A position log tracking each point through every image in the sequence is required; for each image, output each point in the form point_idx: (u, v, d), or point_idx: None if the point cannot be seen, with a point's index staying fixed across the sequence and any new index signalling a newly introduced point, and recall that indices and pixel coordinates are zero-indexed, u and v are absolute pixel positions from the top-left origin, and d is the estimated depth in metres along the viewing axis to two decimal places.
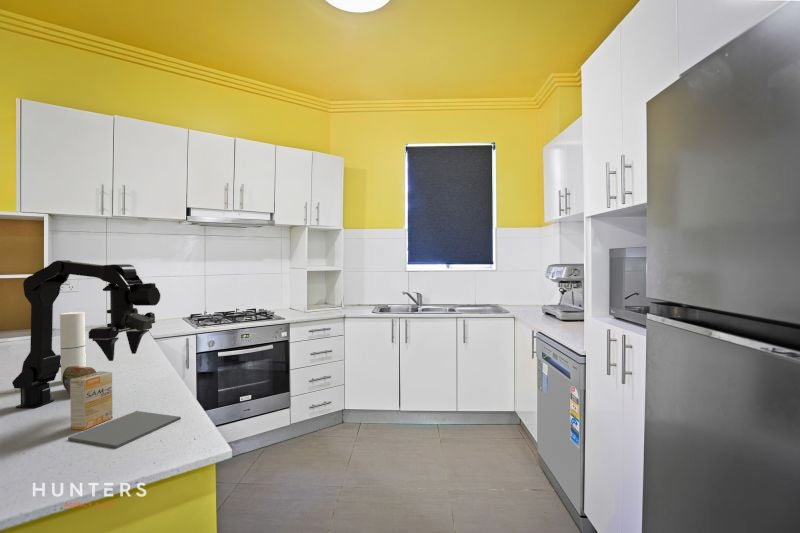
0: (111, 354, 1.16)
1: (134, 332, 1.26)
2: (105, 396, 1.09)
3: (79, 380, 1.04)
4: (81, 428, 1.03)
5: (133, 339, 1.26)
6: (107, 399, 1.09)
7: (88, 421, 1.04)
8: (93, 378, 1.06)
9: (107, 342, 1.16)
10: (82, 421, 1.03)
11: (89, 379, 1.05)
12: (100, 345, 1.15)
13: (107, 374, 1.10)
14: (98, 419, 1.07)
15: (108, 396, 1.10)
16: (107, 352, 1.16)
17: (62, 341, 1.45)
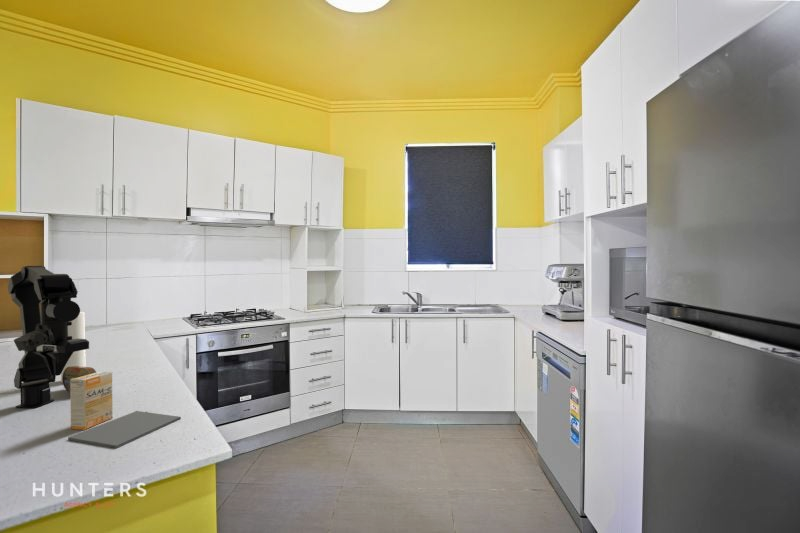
0: None
1: None
2: (105, 396, 1.09)
3: (79, 380, 1.04)
4: (81, 428, 1.03)
5: None
6: (107, 399, 1.09)
7: (88, 421, 1.04)
8: (93, 378, 1.06)
9: None
10: (82, 421, 1.03)
11: (89, 379, 1.05)
12: None
13: (107, 374, 1.10)
14: (98, 419, 1.07)
15: (108, 396, 1.10)
16: None
17: None
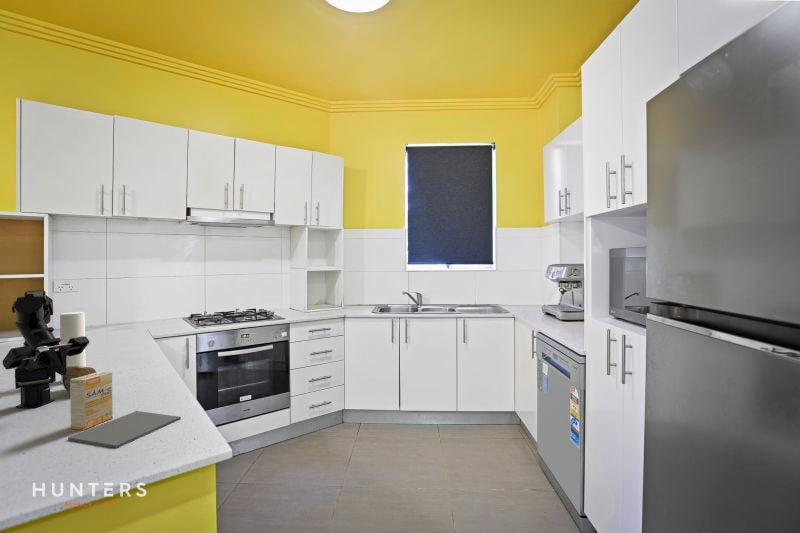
0: None
1: None
2: (105, 396, 1.09)
3: (79, 380, 1.04)
4: (81, 428, 1.03)
5: None
6: (107, 399, 1.09)
7: (88, 421, 1.04)
8: (93, 378, 1.06)
9: None
10: (82, 421, 1.03)
11: (89, 379, 1.05)
12: None
13: (107, 374, 1.10)
14: (98, 419, 1.07)
15: (108, 396, 1.10)
16: None
17: (62, 341, 1.45)
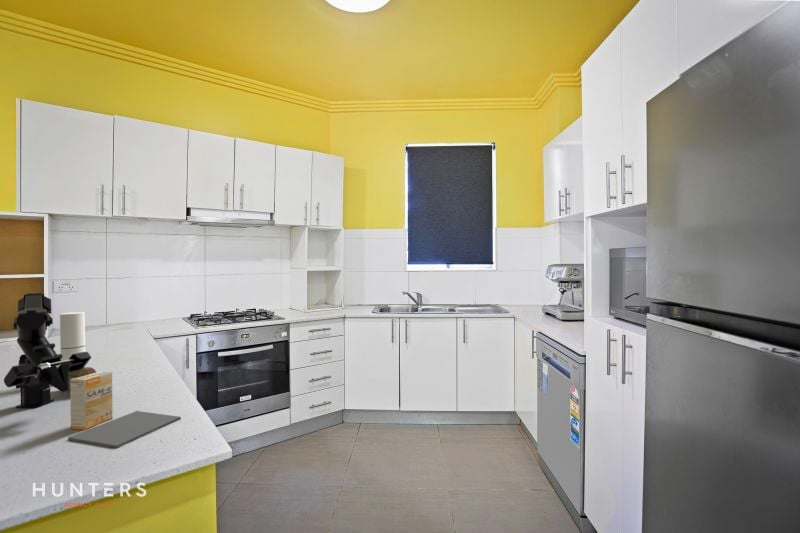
0: None
1: None
2: (105, 396, 1.09)
3: (79, 380, 1.04)
4: (81, 428, 1.03)
5: None
6: (107, 399, 1.09)
7: (88, 421, 1.04)
8: (93, 378, 1.06)
9: None
10: (82, 421, 1.03)
11: (89, 379, 1.05)
12: None
13: (107, 374, 1.10)
14: (98, 419, 1.07)
15: (108, 396, 1.10)
16: None
17: (62, 341, 1.45)
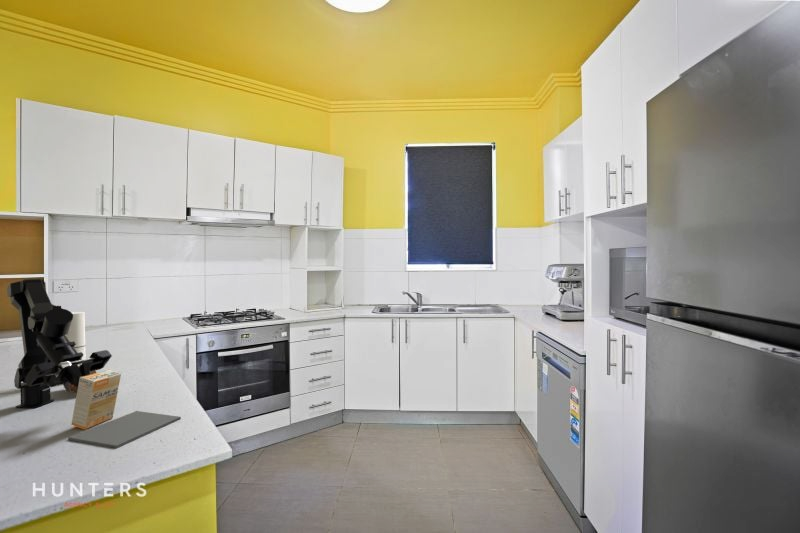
0: None
1: None
2: (110, 397, 1.09)
3: (88, 380, 1.03)
4: (81, 427, 1.03)
5: None
6: (111, 400, 1.09)
7: (89, 421, 1.04)
8: (102, 380, 1.05)
9: None
10: (84, 421, 1.03)
11: (98, 381, 1.04)
12: None
13: (116, 376, 1.09)
14: (99, 420, 1.07)
15: (113, 397, 1.09)
16: None
17: None
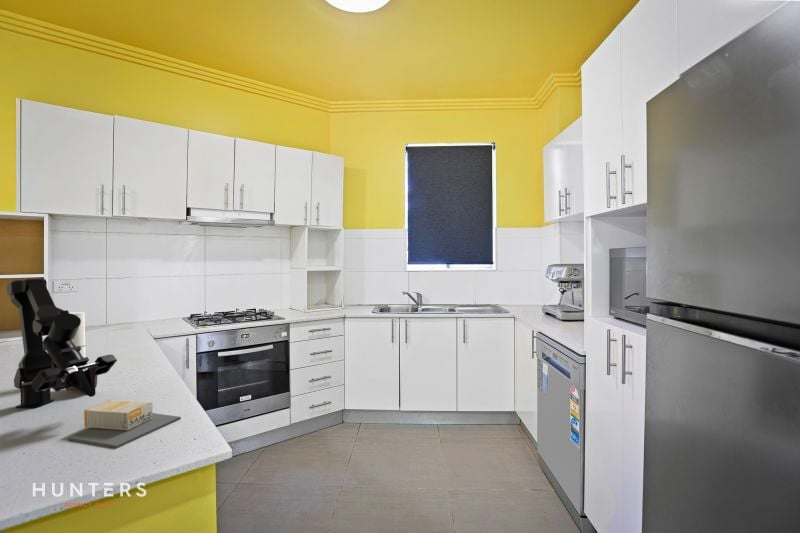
0: None
1: None
2: None
3: (127, 424, 1.01)
4: (85, 423, 1.03)
5: None
6: None
7: None
8: (134, 426, 1.03)
9: None
10: (91, 425, 1.03)
11: (131, 428, 1.02)
12: None
13: (147, 420, 1.07)
14: None
15: None
16: None
17: None
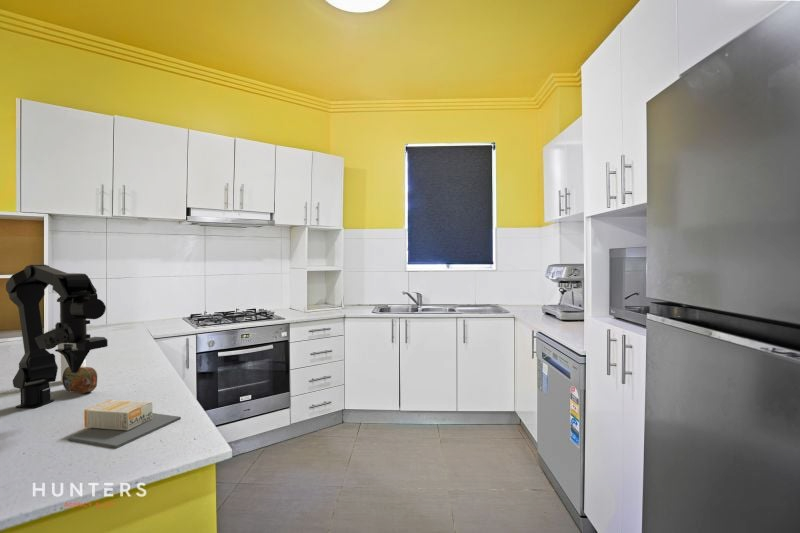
0: None
1: None
2: None
3: (127, 424, 1.01)
4: (85, 423, 1.03)
5: None
6: None
7: None
8: (134, 426, 1.03)
9: None
10: (91, 425, 1.03)
11: (131, 428, 1.02)
12: None
13: (147, 420, 1.07)
14: None
15: None
16: None
17: None
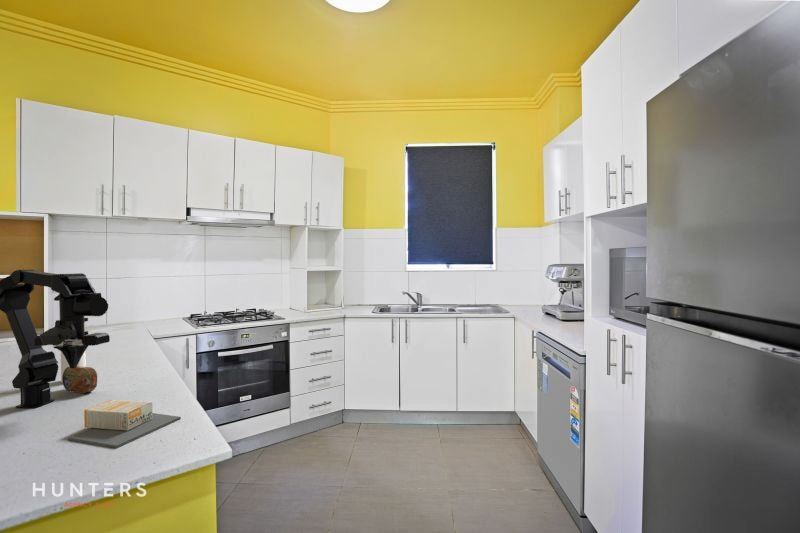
0: None
1: None
2: None
3: (127, 424, 1.01)
4: (85, 423, 1.03)
5: None
6: None
7: None
8: (134, 426, 1.03)
9: None
10: (91, 425, 1.03)
11: (131, 428, 1.02)
12: None
13: (147, 420, 1.07)
14: None
15: None
16: None
17: None
